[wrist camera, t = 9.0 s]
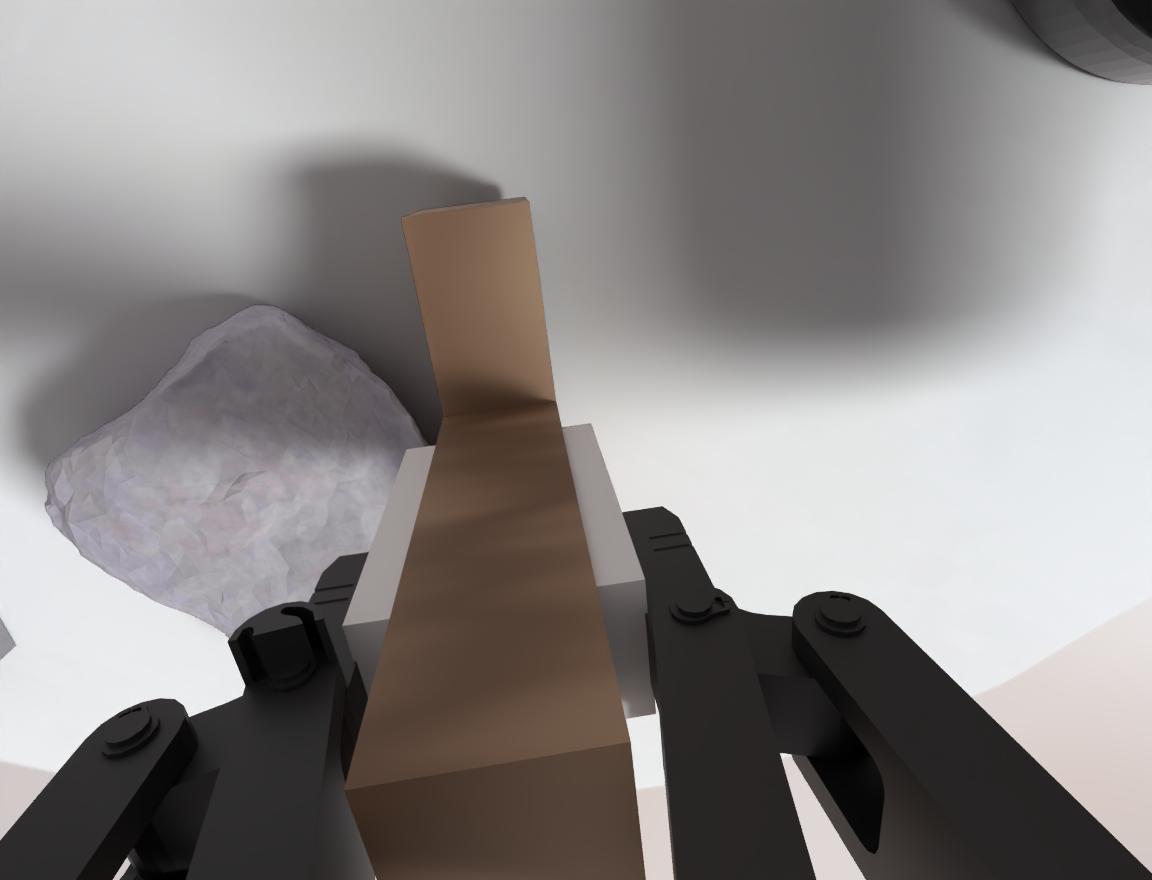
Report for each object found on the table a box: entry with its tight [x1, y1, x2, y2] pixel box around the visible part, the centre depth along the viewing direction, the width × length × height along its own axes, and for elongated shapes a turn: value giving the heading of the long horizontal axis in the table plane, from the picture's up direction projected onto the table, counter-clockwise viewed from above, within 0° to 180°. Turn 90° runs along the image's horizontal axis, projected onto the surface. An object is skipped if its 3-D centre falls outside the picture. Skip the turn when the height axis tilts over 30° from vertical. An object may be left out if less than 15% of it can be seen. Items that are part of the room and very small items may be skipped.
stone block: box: [45, 305, 429, 639], centre depth 21 cm, size 12×5×10 cm
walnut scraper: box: [344, 197, 646, 880], centre depth 14 cm, size 3×13×15 cm, turn 7°
